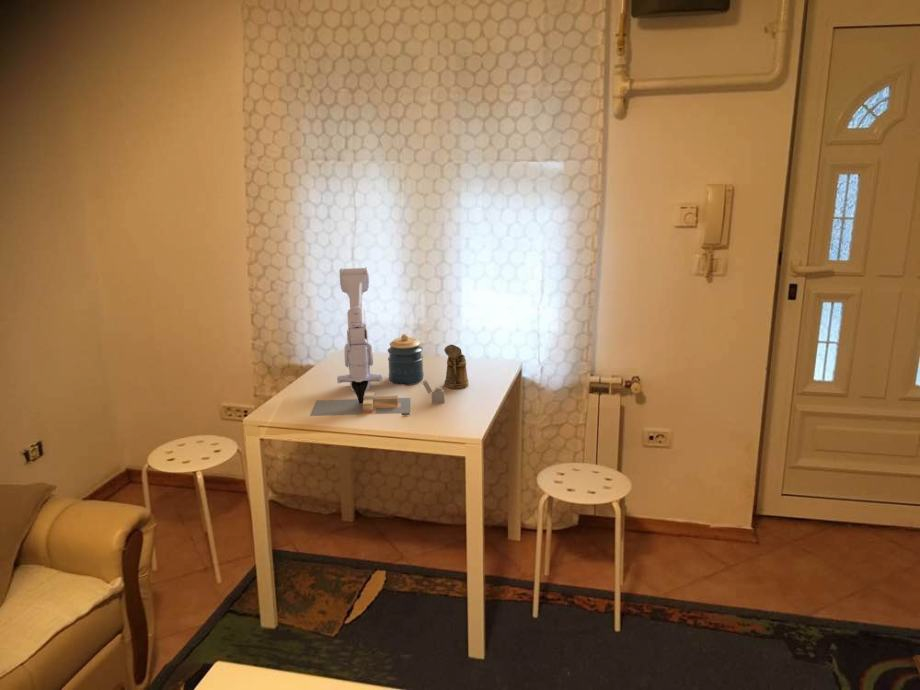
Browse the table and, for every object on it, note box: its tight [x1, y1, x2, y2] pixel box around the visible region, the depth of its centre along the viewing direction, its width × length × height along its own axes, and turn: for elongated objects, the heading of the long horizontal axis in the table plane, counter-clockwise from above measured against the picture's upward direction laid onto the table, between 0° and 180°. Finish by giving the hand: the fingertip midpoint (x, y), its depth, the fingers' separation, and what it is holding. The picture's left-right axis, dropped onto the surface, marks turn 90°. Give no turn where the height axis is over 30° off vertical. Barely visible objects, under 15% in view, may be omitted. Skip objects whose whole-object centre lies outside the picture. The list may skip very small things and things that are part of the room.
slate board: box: [309, 397, 411, 417], centre depth 230 cm, size 14×32×1 cm, turn 93°
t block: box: [363, 391, 399, 413], centre depth 230 cm, size 12×11×3 cm
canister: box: [387, 333, 425, 386], centre depth 256 cm, size 13×13×18 cm
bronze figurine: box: [444, 344, 469, 390], centre depth 247 cm, size 9×14×18 cm, turn 170°
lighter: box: [422, 380, 445, 405], centre depth 234 cm, size 7×2×8 cm, turn 95°
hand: (361, 402), depth 230 cm, fingers closed
